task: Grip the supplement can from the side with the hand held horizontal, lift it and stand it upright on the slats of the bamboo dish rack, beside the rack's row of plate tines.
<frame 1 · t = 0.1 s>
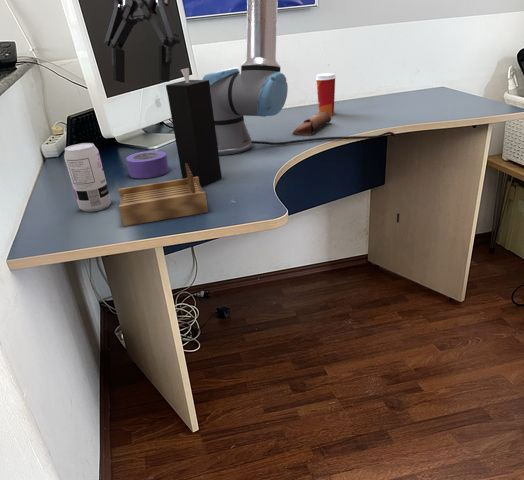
hand: (141, 81, 118), 28 cm above the table, tool tilted 20°, fingers open, 13 cm apart
paper cup: (326, 115, 204), on the table
tissue box: (202, 181, 146), on the table
dish rack: (164, 209, 129), on the table
tape roll: (149, 173, 158), on the table
supplement can: (96, 207, 136), on the table
sunglasses case: (312, 129, 186), on the table
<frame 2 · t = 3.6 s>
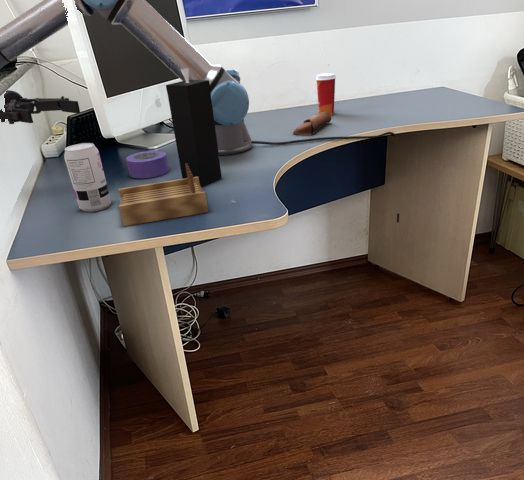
hand: (55, 111, 128), 22 cm above the table, tool horizontal, fingers open, 13 cm apart
nothing on the table moved.
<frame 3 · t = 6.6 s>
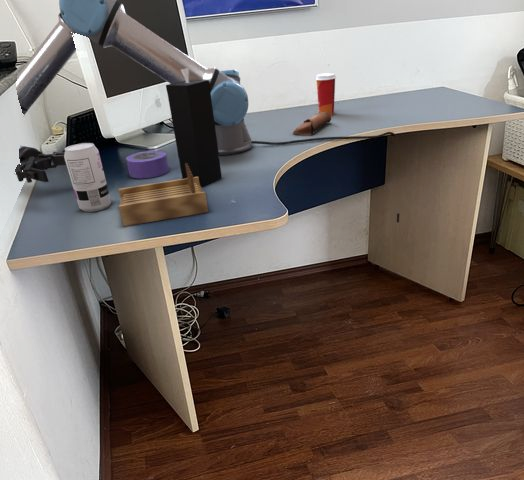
hand: (69, 169, 135), 9 cm above the table, tool horizontal, fingers open, 13 cm apart
nothing on the table moved.
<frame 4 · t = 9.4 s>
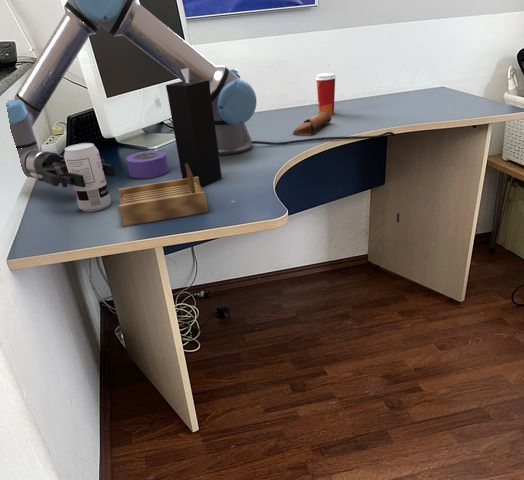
hand: (98, 176, 128), 8 cm above the table, tool horizontal, fingers closed on supplement can, 8 cm apart
supplement can: (96, 207, 136), on the table, touching gripper
everything else where it was.
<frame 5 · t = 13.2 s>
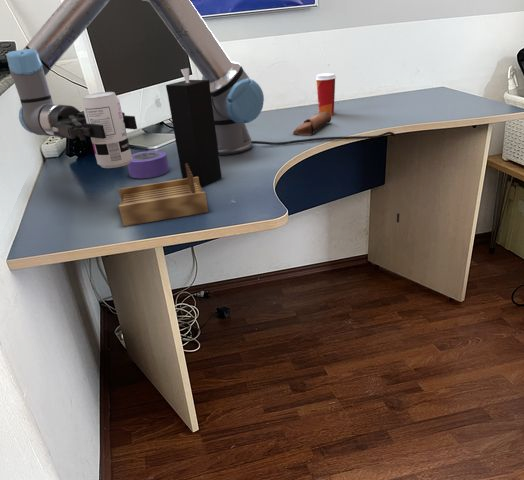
hand: (119, 127, 117), 20 cm above the table, tool horizontal, fingers closed on supplement can, 8 cm apart
supplement can: (116, 164, 125), point 11 cm above the table, touching gripper
everything else where it was.
when the fingers open (12 cm above the table, at t = 16.8 s): supplement can stays where it is, resting on dish rack.
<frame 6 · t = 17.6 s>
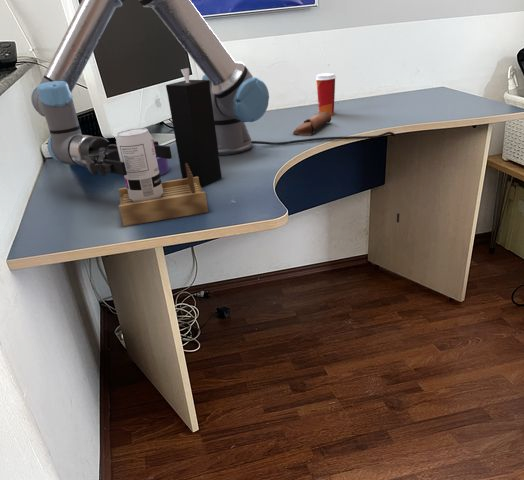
hand: (148, 160, 119), 13 cm above the table, tool horizontal, fingers open, 13 cm apart
supplement can: (147, 198, 126), point 3 cm above the table, touching dish rack
everything else where it was.
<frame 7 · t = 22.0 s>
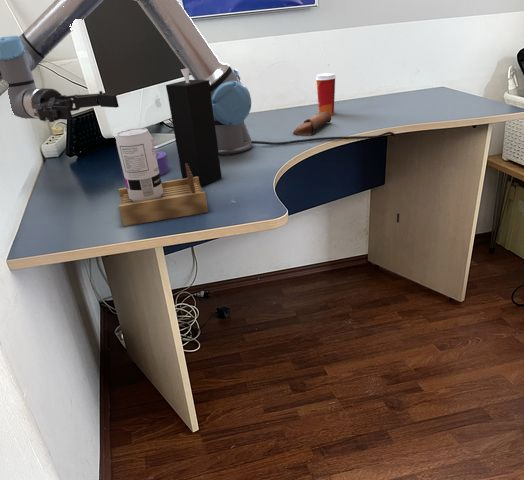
hand: (93, 107, 126), 23 cm above the table, tool horizontal, fingers open, 13 cm apart
nothing on the table moved.
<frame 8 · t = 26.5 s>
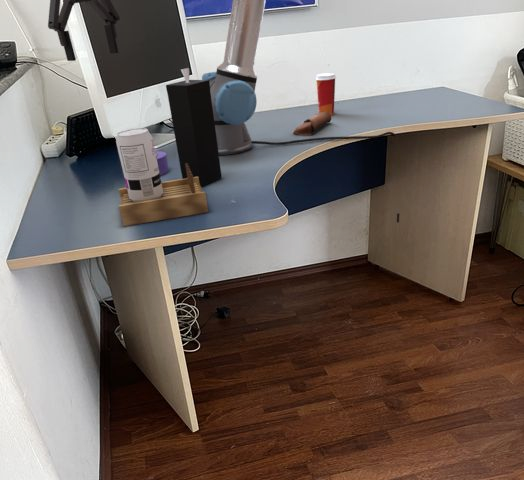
hand: (93, 56, 138), 32 cm above the table, tool pointing down, fingers open, 13 cm apart
nothing on the table moved.
at the end: supplement can inside the target area on the dish rack (0.5 cm from its centre), point 3.4 cm above the dish rack's base; supplement can tilted 0°; the gripper is holding nothing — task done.
